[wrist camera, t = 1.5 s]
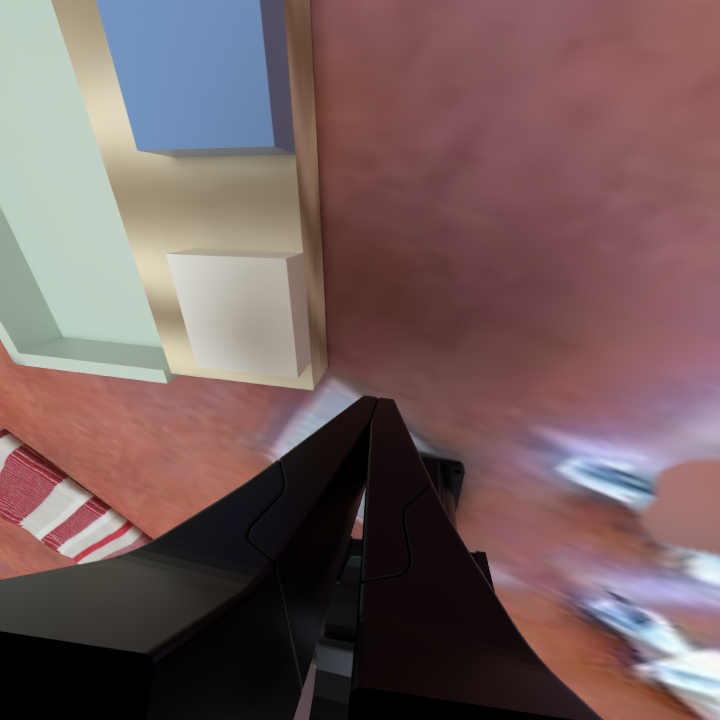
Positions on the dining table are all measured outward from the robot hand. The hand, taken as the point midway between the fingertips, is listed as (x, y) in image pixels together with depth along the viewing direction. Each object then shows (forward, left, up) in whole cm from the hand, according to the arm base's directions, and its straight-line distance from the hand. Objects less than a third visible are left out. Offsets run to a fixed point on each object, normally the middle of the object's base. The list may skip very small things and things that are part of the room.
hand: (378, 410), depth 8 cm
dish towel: (-31, +41, -12) cm, 53 cm away
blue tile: (+10, +8, -8) cm, 15 cm away
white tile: (0, +8, -8) cm, 11 cm away
